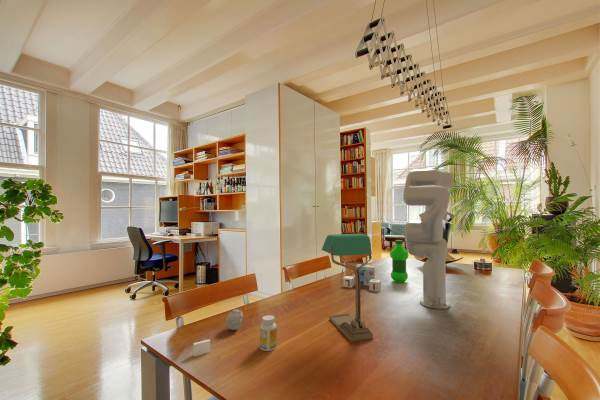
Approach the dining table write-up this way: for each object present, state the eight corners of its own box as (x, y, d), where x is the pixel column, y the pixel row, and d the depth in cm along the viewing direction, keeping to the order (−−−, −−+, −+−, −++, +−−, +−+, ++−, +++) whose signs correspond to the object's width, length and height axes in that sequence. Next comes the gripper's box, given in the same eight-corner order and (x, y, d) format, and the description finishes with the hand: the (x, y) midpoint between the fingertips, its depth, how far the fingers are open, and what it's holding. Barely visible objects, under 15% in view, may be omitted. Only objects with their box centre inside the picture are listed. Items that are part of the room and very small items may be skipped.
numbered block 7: (351, 287, 157) (351, 279, 157) (343, 286, 160) (343, 278, 160) (354, 285, 162) (354, 277, 162) (346, 284, 164) (346, 276, 164)
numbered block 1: (378, 291, 150) (378, 282, 150) (369, 290, 152) (369, 281, 153) (380, 289, 155) (380, 280, 155) (371, 288, 157) (371, 278, 157)
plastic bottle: (396, 278, 177) (395, 239, 177) (411, 282, 169) (411, 240, 169) (387, 281, 170) (386, 240, 171) (402, 285, 162) (402, 242, 163)
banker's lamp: (340, 343, 94) (340, 238, 94) (319, 318, 114) (319, 232, 115) (382, 337, 98) (381, 236, 99) (355, 314, 118) (354, 231, 119)
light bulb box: (355, 284, 164) (355, 266, 164) (356, 281, 170) (356, 263, 170) (374, 286, 161) (374, 267, 161) (374, 283, 167) (374, 265, 167)
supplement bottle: (259, 352, 88) (259, 321, 88) (260, 343, 93) (260, 314, 93) (276, 351, 88) (276, 320, 89) (276, 342, 94) (276, 314, 94)
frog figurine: (246, 327, 106) (246, 308, 106) (233, 334, 100) (233, 315, 100) (234, 324, 109) (234, 306, 109) (221, 330, 103) (221, 311, 103)
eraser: (193, 355, 86) (193, 343, 86) (209, 350, 89) (209, 339, 89) (194, 356, 85) (194, 344, 85) (210, 352, 88) (210, 340, 88)
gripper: (417, 198, 155) (418, 229, 154) (453, 198, 145) (453, 231, 145) (420, 199, 161) (420, 228, 161) (454, 198, 152) (455, 230, 151)
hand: (436, 230), depth 153 cm, fingers open, 9 cm apart
